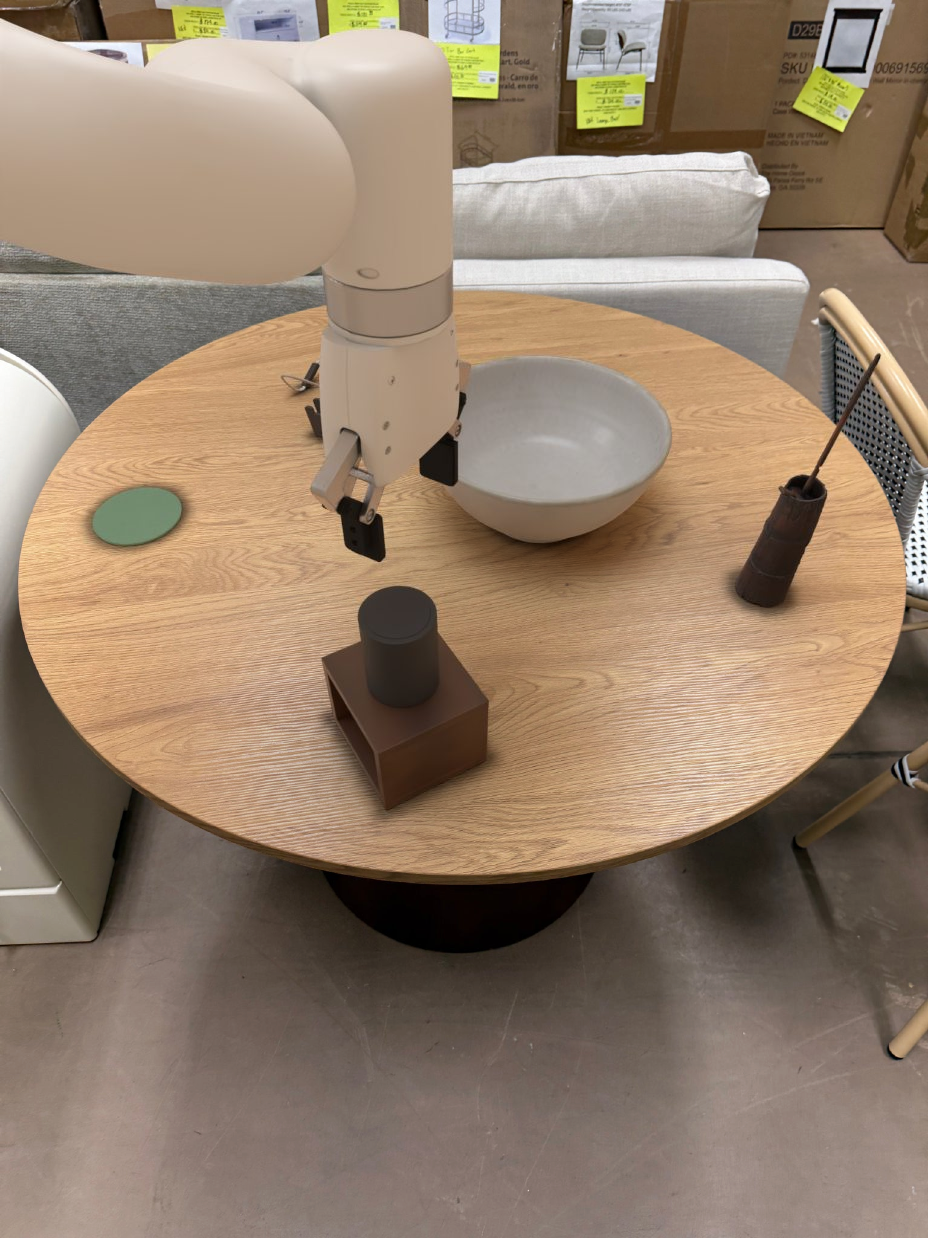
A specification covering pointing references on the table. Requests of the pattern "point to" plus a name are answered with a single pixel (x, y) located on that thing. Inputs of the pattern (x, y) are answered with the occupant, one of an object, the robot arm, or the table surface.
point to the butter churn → (790, 526)
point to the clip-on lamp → (312, 415)
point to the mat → (137, 516)
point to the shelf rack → (408, 726)
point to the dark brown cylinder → (400, 645)
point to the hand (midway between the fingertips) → (403, 514)
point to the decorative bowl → (555, 446)
